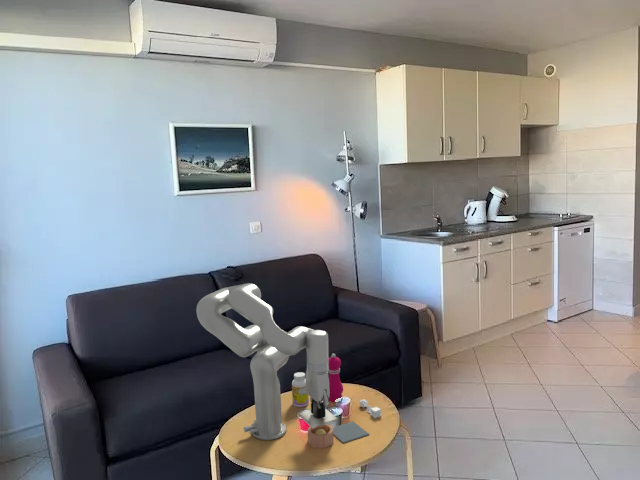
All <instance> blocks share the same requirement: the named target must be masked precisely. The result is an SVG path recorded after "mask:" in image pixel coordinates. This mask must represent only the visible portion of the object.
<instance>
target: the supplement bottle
mask: <svg viewBox="0 0 640 480" xmlns="http://www.w3.org/2000/svg"><path fill="white" fill-rule="evenodd" d="M293 378H294V379H293V380H292V382H291V392H292V405H293V406H295V407H298V408H303V407H306V406H308V404H309V402H310V401H309V397H310V396H309V395H308V394H307V393H306V391H305V382H306V372H302V371H301V372H295V373H293Z"/></svg>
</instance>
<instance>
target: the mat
mask: <svg viewBox="0 0 640 480" xmlns="http://www.w3.org/2000/svg"><path fill="white" fill-rule="evenodd" d="M332 427H333V437H334V436H335V438H336V439H337V440H339V441H340V442H341V443H342V444H346V443H348V442H352V441H354V440H358V439H360V438H363V437H364V438H365V437H366V436H369V435H370V433H369V432H367V430H365V429H363V428H362V427H361V426H360V425H358V424H357V423H356V422H355V421H353V420H352V421H350V422H345V423H343V424H339V425H336V426H332Z"/></svg>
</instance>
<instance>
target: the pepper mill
mask: <svg viewBox="0 0 640 480" xmlns="http://www.w3.org/2000/svg"><path fill="white" fill-rule="evenodd" d="M336 355H337V354H335V353H331V355H330V356H329V357H328V377H329V399H328V401H331V402H330V403H334V402H335V400H336V399H338V398H341V397H342V398H343V394H342V393H343V392H344V386H343V383H342V382H341V380H340V379H341V378H340V372H341V368H340V367H341V366H342V360H341V359H340V358H339V357H338V356H336ZM335 403H336V402H335Z"/></svg>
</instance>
